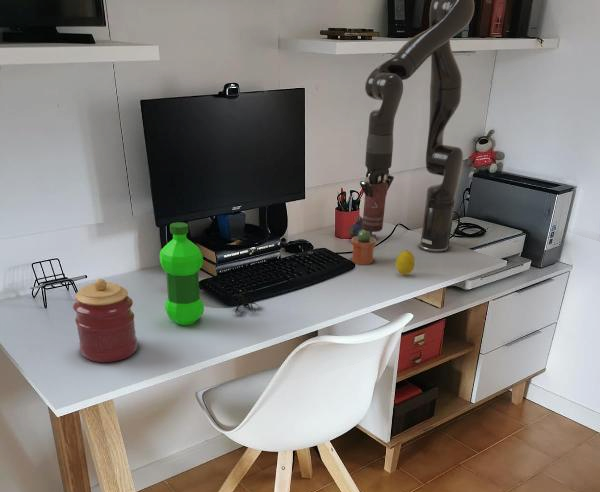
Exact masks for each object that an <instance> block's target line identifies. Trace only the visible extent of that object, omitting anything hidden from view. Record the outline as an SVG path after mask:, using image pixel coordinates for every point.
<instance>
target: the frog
mask: <svg viewBox="0 0 600 492" xmlns="http://www.w3.org/2000/svg"><path fill="white" fill-rule="evenodd" d="M358 221H359V222H358ZM354 223H355V224H354ZM354 223H353V224H354V225H353V224H352V225H353V226H352V227H350V228H348V230H349V232H348V234H349V236H350V237H351V238H353V237H356V236H358V234H359V232H360V231H361V230H364V229H363V227H362V223H363V217H360V219H359V218H358V217H357V219H356V222H354ZM369 232H370V231H369ZM370 234H371V237H372V238H375V239H376V240H377V235H376V234H373V232H370Z"/></svg>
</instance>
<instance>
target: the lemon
mask: <svg viewBox="0 0 600 492" xmlns="http://www.w3.org/2000/svg"><path fill="white" fill-rule="evenodd" d="M395 268H396V270H397V272H398V273H400V274H401V275H402V276H407V275H408V274H410V273H411V272H412V271H413V270H414V268H415V256H414V255H413V253H412V252H411V251H409V250H407V249H406V250H403V251H401V252H399V254H398V255H397V258H396V260H395Z"/></svg>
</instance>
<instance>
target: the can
mask: <svg viewBox="0 0 600 492" xmlns="http://www.w3.org/2000/svg"><path fill="white" fill-rule="evenodd" d="M370 187H371V189H372V191H373V197H372V198H371V197H370V196H366V195H365V194H364V201H363V202H364V204H363V213H362V219H363V223H362V227H363V229H364V230H366V231H370V232H372V233H379V232H381V231H382V229H383V226H384V218H385V217H384V216H385V208H386V198H387V195H388V191H387V190H389V189H388V184H387V183H386V182H383V183H380V184H373V185H372V184H371V185H370ZM367 194H368V195H369V193H367Z"/></svg>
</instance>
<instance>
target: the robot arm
mask: <svg viewBox="0 0 600 492" xmlns="http://www.w3.org/2000/svg"><path fill="white" fill-rule="evenodd" d="M474 13H475V1H474V0H431V2H430V7H429V28H427V29H426V30H424V31H422V32H420V33H418V34H417V35H415V36H413V37H412V38H410V39H409V40H408V41H406V42H405V43H404V44H403V45H402V46H401V48H400V49H398V51H397V52H396V53H395V54H394V55H393V56H392V57H391V58H390V59H388V60H386V61H384V62H383V63H382V64H380V65H379V66H377V67H375V68H374V69H373V70H372V71H371V72H370V73H369V75H368V76H367V78H366V81H365V84H364V90H365V93H366V96H368V97H369V98H370V99H372V100H377V101H381V105H380V108H377V109H373V110H371V112H370V113H369V116H368V129H367V130H368V131H367V136H366V137H367V138H366V145H365V146H366V147H365V161H364V162H365V163H364V165H365V167H366V169H367V170H366V173H365V178H364V179H363V180H360V181H359V185H360V187H361V189H362V191H363V193H364V196H365V195H366V196H370V197H371V198H372V197H373V191H372V189H371V187H370V185H371V184H372V185H373V184H380V183H383V182H386V183H387V184H388V190H390V187H391V185H392V183H393V181H394V179H395V177H394V175H391V174H390V170H389V169H390V168H392V164H393V163H392V161H393V151H394V129H395V118H396V115H397V113H398V109H399V106H400V103H401V100H402V98H403V97H402V96H403V93H404V81H406V80H408V79H410V78H411V77H412V76H413V75H414V74H415V73H416V71H418V69H420V67H421V66H422V65H423V64H424V63H425V62H426V60H427V59H428V58H430V66H431V67H430V83H429V85H430V88H429V120H428V121H429V123H428V124H429V125H428V126H429V127H428V132H427V143H426V150H425V151H426V152H425V167H426V171H427V172H428V173H429V174H432V175H436V176H442V177H443V179H442V182H441V183H438V184H432V185H430V186H428V187H427V190H426V197H425V205H424V213H423V221H422V228H421V235H420V236H421V237H420V243H419V247H420V248H421V249H422V250H424V251H428V252H434V253H440V252H446V251H448V248H449V247H450V241H451V234H452V227H453V215H454V214H453V213H454V206H455V201H456V200H455V199H456V193H457V190H458V187H459V183H460V178H461V174H462V173H461V172H462V169H463V162H464V152H463V150H462V148H460V147H458V146H453V145H447V144H444V134H445V130H446V127H447V125H448V123H449V122H450V120H451V119H452V118H453V116H454V114H455V113H456V111H457V110H458V108H459V106H460V104H461V101H462V85H463V77H462V73H461V69H460V68H459V64H458V63H457V60H456V58H455V56H454V53H453V50H452V46H451V39H452V38H454V37H455V36H456V35H457V34H459V33H461V32H462V31H463V30H464V29H465V28H466V27H467V26H468V25H469V23H470V22H471V21H472V18H473V16H474ZM388 190H387V192H388ZM367 193H369V195H368V194H367Z"/></svg>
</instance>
